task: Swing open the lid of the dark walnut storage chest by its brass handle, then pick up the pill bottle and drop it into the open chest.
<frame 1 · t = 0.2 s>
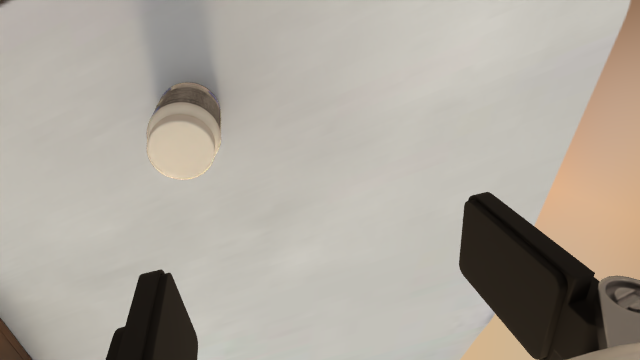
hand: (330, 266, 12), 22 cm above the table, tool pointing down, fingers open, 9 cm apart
pill bottle: (190, 110, 30), on the table
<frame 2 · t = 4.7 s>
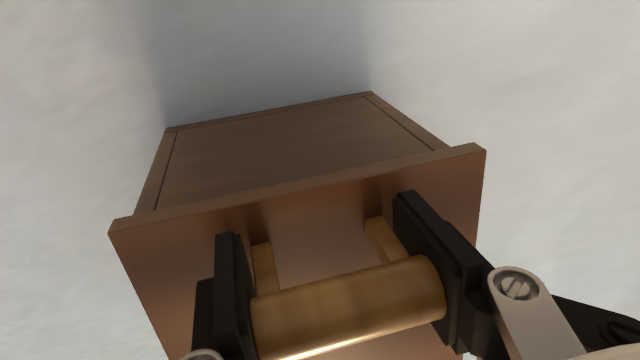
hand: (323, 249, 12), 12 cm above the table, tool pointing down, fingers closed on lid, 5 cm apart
chest: (290, 209, 26), on the table
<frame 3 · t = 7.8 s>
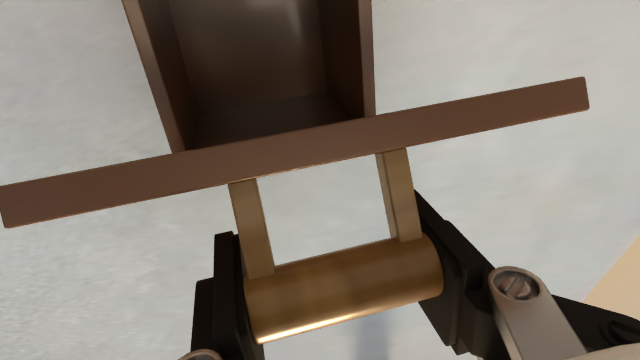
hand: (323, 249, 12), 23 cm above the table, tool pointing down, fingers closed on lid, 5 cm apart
lid: (305, 205, 15), point 19 cm above the table, hinge at 64.6°, touching gripper
chest: (248, 20, 29), on the table
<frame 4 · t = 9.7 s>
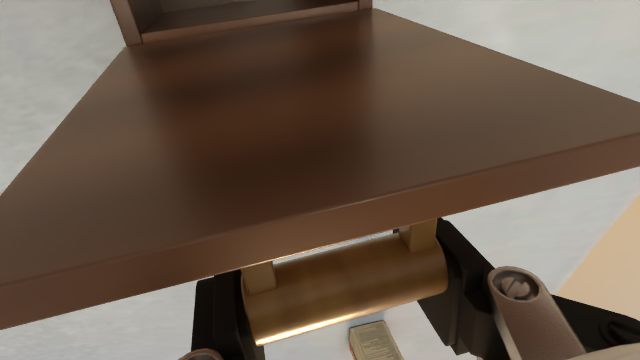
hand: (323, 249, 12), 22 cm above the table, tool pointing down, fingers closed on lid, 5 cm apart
lid: (293, 136, 13), point 19 cm above the table, hinge at 92.3°, touching gripper
small box: (366, 332, 51), on the table
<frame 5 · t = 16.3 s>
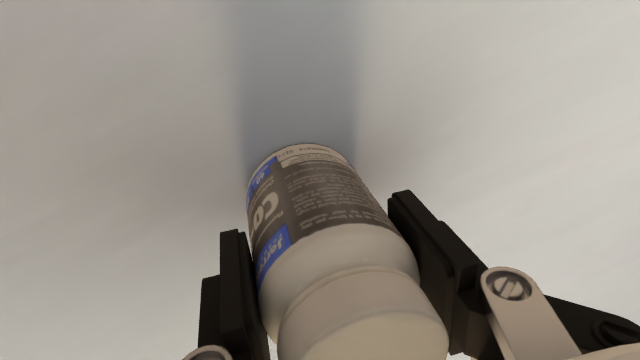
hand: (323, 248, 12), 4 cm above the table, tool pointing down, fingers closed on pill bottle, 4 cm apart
pill bottle: (300, 191, 16), on the table, touching gripper
when the fingers open (12 cm above the table, at t = 23.9 s): pill bottle drops 8 cm, resting on chest.
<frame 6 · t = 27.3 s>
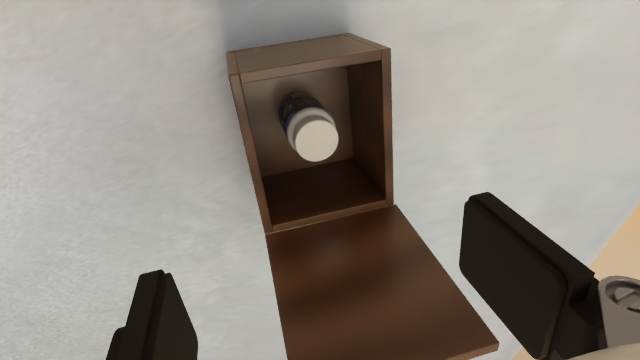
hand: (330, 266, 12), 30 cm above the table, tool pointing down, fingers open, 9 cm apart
lid: (360, 300, 29), point 19 cm above the table, hinge at 92.5°
chest: (299, 111, 41), on the table
pill bottle: (299, 112, 40), point 1 cm above the table, touching chest
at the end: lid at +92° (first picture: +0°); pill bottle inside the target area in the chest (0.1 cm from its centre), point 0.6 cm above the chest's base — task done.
